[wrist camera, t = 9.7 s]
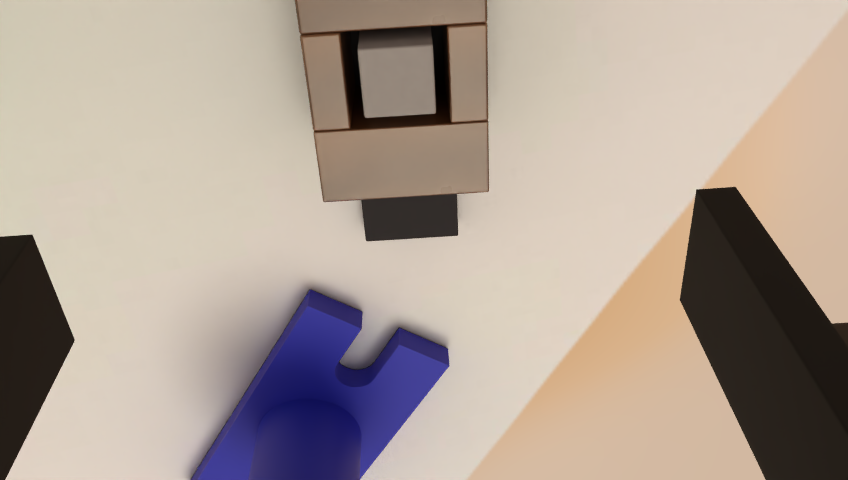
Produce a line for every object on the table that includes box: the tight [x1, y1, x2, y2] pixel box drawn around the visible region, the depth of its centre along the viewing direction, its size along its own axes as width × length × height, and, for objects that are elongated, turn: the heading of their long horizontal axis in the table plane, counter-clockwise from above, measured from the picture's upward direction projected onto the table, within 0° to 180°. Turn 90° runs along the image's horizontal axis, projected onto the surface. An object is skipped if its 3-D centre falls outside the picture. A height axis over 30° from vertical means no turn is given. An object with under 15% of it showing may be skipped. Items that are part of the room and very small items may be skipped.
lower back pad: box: [350, 26, 458, 241], centre depth 28 cm, size 18×4×6 cm, turn 3°
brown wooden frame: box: [295, 0, 489, 202], centre depth 28 cm, size 9×6×4 cm, turn 3°
